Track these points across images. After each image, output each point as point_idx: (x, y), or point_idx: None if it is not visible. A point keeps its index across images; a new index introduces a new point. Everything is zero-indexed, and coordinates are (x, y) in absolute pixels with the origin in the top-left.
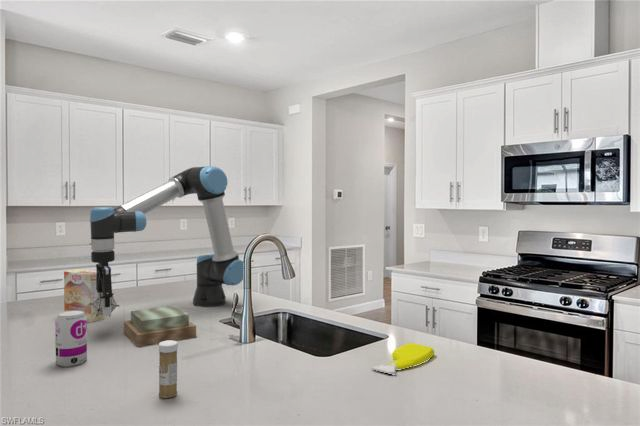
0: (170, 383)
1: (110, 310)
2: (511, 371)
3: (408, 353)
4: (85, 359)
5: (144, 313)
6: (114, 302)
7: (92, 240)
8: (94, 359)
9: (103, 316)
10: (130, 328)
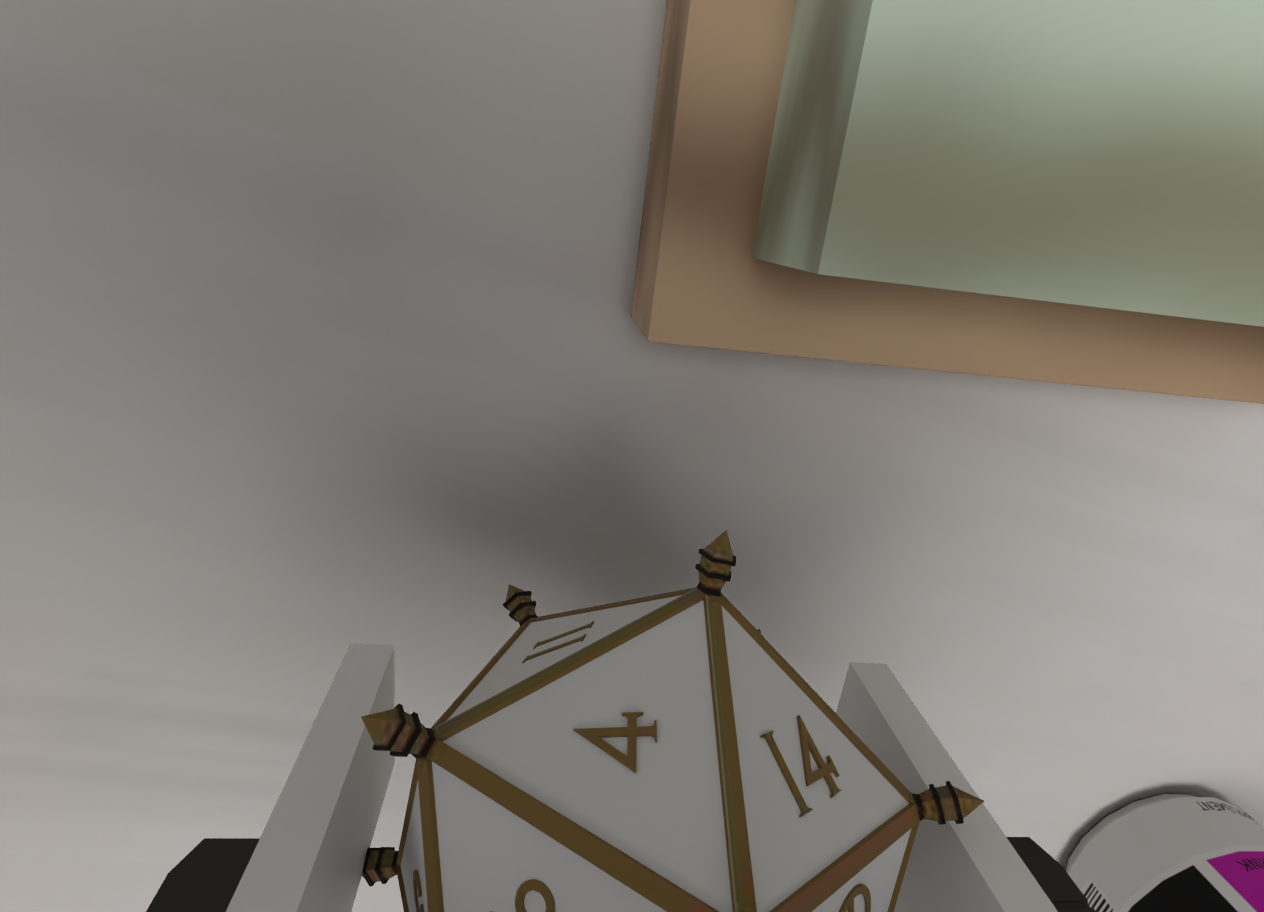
0: None
1: (929, 745)
2: None
3: None
4: (1246, 813)
5: (1235, 105)
6: (775, 717)
7: None
8: (1220, 740)
9: None
10: (1055, 381)
